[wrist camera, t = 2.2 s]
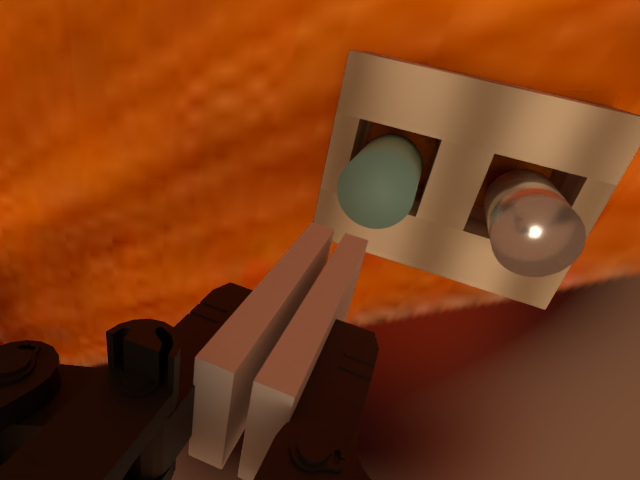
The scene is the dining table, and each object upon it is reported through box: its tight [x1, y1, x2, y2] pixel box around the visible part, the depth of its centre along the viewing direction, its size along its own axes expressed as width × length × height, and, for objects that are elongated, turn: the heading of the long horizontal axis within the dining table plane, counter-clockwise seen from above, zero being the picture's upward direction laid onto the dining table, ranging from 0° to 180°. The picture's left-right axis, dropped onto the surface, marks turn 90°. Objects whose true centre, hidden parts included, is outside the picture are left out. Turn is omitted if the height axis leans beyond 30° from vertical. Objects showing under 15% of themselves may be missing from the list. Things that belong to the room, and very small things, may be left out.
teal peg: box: [337, 134, 423, 229], centre depth 23 cm, size 4×4×6 cm
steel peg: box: [483, 169, 586, 277], centre depth 21 cm, size 4×4×6 cm
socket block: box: [313, 50, 640, 309], centre depth 26 cm, size 16×12×6 cm
